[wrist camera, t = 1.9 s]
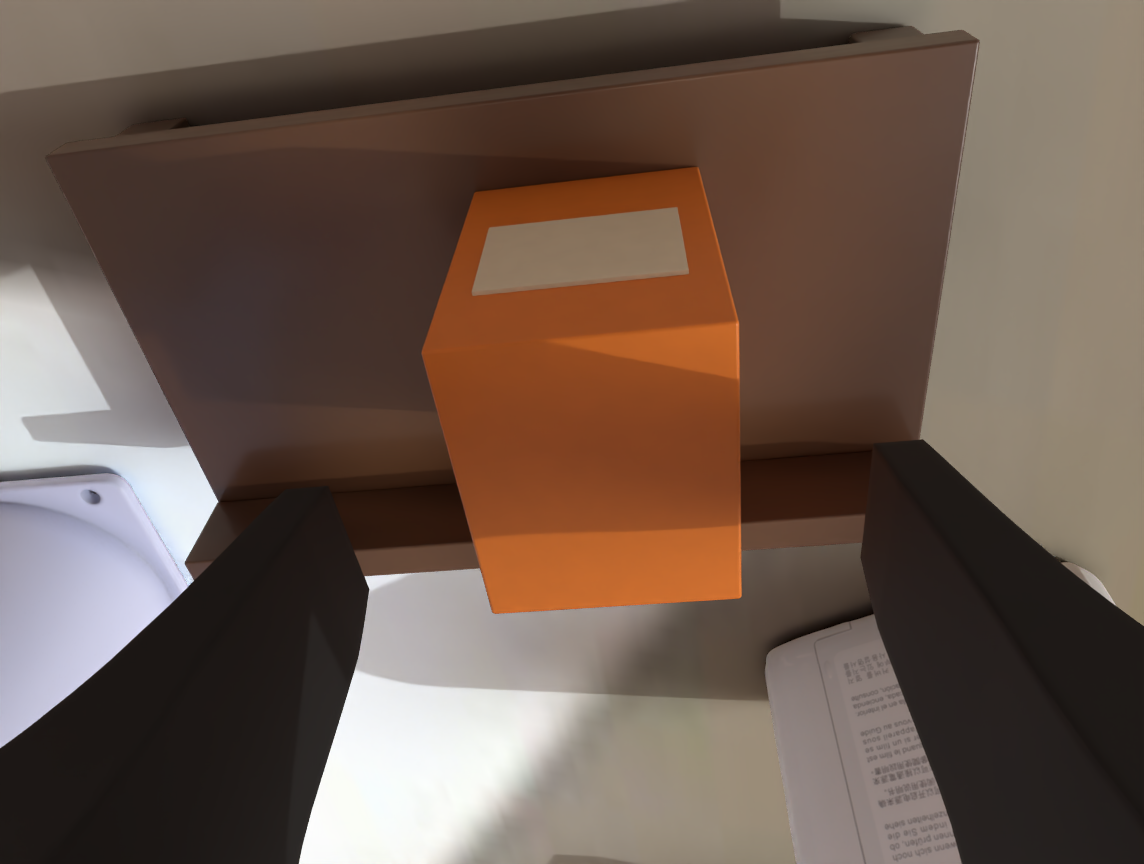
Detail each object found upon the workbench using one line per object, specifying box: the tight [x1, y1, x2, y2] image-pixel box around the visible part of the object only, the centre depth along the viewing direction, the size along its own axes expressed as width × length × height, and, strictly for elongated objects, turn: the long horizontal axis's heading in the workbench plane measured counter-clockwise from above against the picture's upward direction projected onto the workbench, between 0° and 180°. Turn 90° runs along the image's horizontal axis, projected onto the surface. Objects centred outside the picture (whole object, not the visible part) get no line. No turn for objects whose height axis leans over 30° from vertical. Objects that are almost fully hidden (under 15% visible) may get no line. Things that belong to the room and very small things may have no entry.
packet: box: [421, 167, 742, 614], centre depth 14 cm, size 4×5×6 cm
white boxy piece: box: [765, 562, 1116, 864], centre depth 21 cm, size 10×4×12 cm, turn 120°
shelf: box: [45, 26, 980, 580], centre depth 17 cm, size 16×9×5 cm, turn 97°
